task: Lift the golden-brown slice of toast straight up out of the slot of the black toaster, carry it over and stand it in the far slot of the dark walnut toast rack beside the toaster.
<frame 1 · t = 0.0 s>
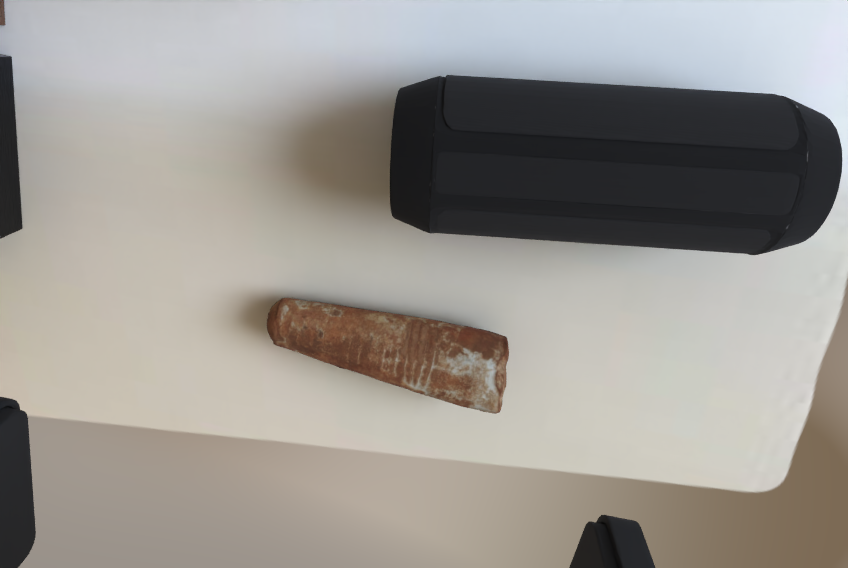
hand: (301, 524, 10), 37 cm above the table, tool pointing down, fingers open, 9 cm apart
reddish-brown tapered rod: (388, 337, 50), on the table
portable speaker: (581, 151, 44), on the table
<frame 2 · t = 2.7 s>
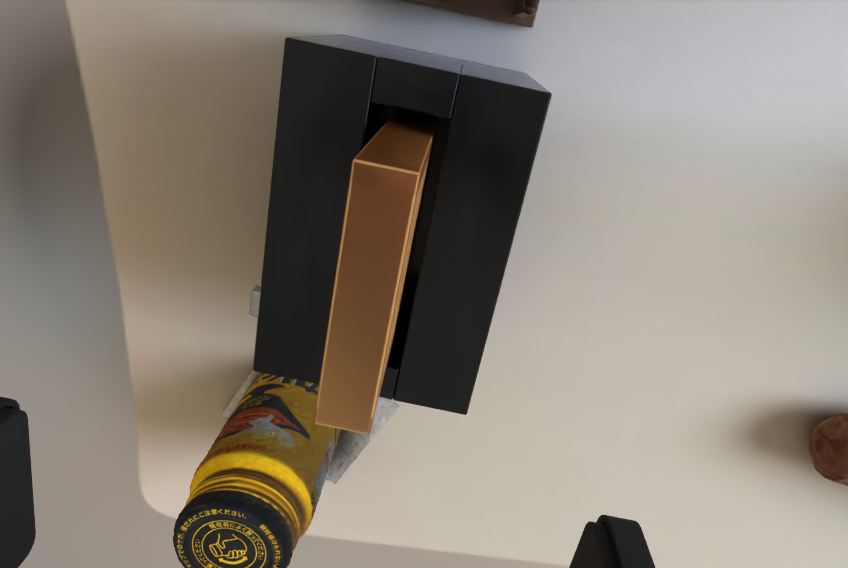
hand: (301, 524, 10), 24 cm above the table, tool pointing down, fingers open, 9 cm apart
toaster: (410, 184, 32), on the table
toast: (401, 207, 28), point 4 cm above the table, touching toaster
condiment: (310, 406, 38), on the table
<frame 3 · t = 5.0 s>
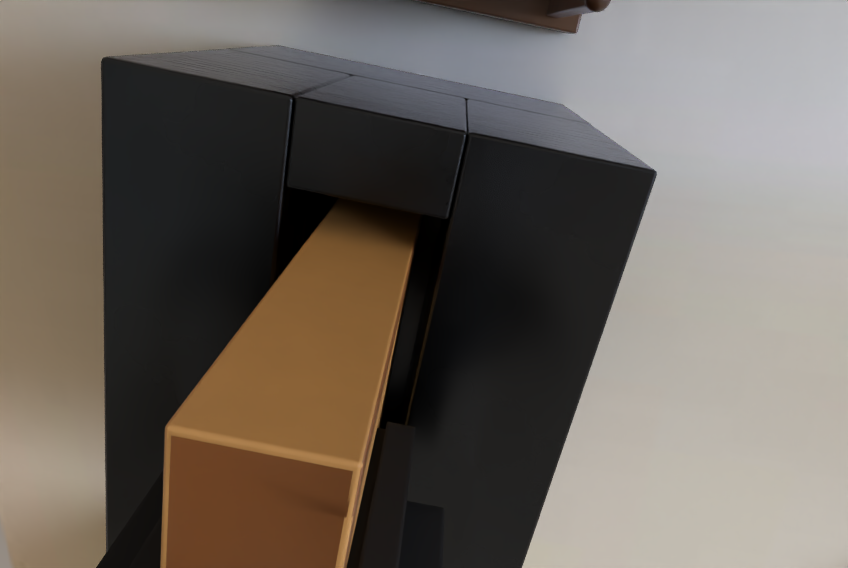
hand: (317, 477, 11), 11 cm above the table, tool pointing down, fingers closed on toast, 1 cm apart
toaster: (386, 267, 21), on the table
toast: (368, 324, 17), point 5 cm above the table, touching gripper, toaster
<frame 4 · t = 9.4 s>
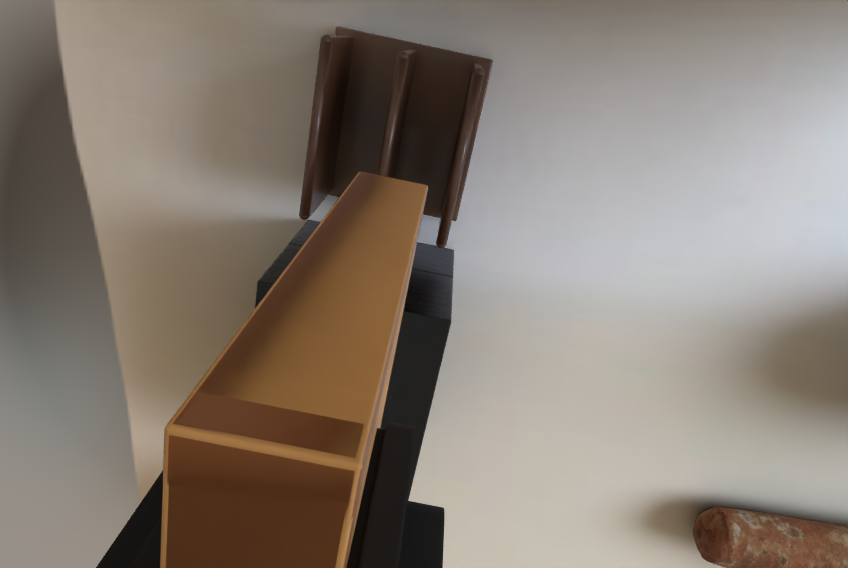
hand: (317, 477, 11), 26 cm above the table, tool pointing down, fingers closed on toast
reddish-brown tapered rod: (813, 541, 44), on the table
rack: (400, 127, 35), on the table
toaster: (364, 328, 40), on the table
toast: (367, 324, 17), point 20 cm above the table, touching gripper
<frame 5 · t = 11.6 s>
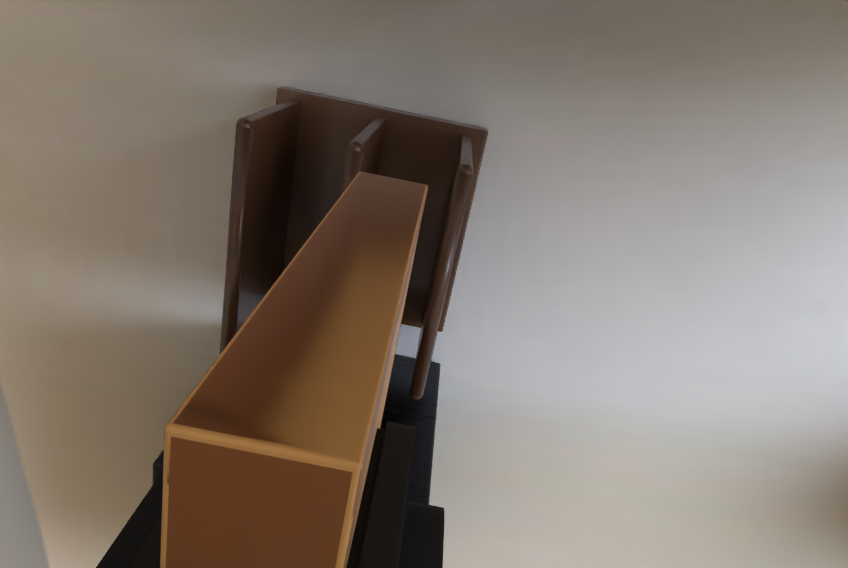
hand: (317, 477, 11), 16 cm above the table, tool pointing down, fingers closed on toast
rack: (368, 213, 26), on the table
toaster: (329, 454, 31), on the table
toast: (367, 324, 17), point 10 cm above the table, touching gripper
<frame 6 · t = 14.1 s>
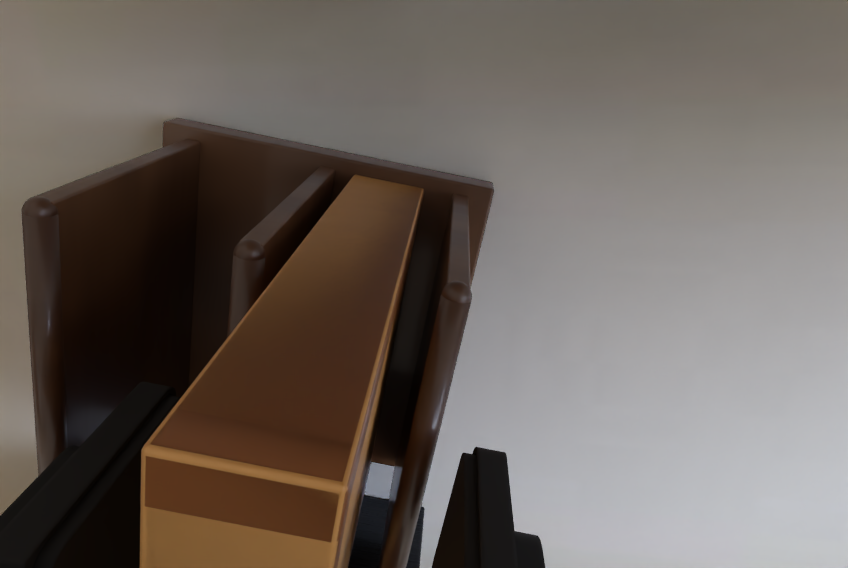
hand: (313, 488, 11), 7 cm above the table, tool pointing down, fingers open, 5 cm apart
rack: (314, 304, 18), on the table
toast: (363, 329, 17), point 1 cm above the table, touching rack
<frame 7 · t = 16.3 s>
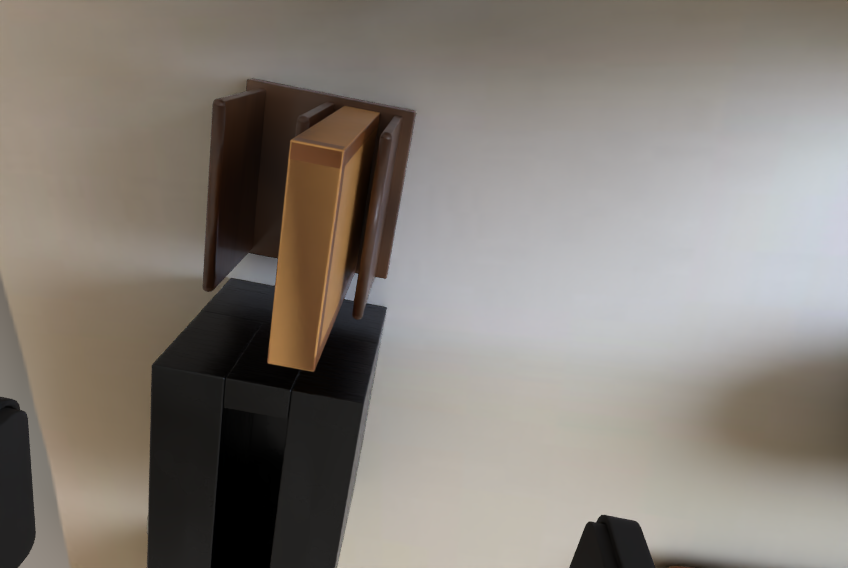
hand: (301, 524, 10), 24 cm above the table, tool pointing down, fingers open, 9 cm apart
rack: (323, 181, 33), on the table
toaster: (296, 389, 37), on the table
toast: (350, 192, 32), point 1 cm above the table, touching rack
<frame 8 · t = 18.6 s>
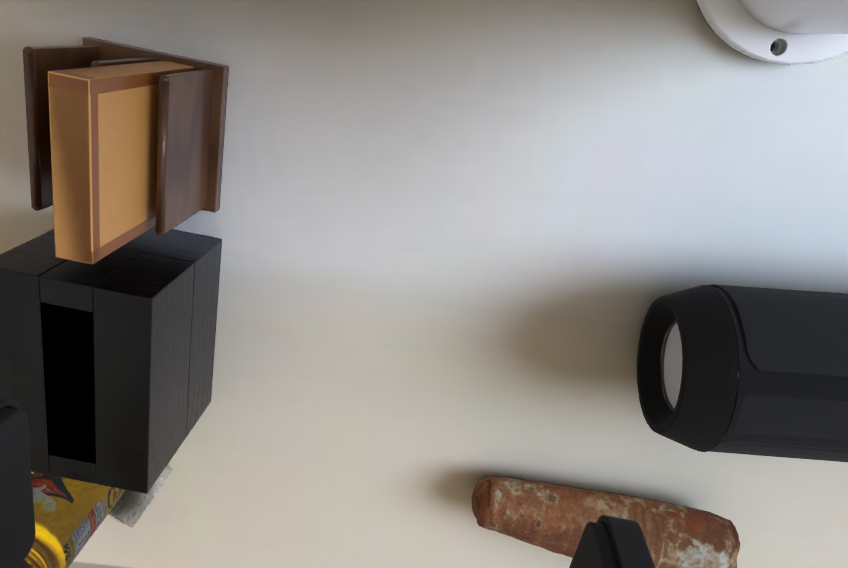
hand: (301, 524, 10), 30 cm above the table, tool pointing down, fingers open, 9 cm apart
reddish-brown tapered rod: (590, 508, 48), on the table
portable speaker: (826, 338, 41), on the table
rack: (157, 127, 38), on the table
toaster: (153, 312, 43), on the table
toast: (177, 135, 38), point 1 cm above the table, touching rack
condiment: (107, 469, 49), on the table
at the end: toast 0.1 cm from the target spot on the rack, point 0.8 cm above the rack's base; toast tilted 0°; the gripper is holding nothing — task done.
